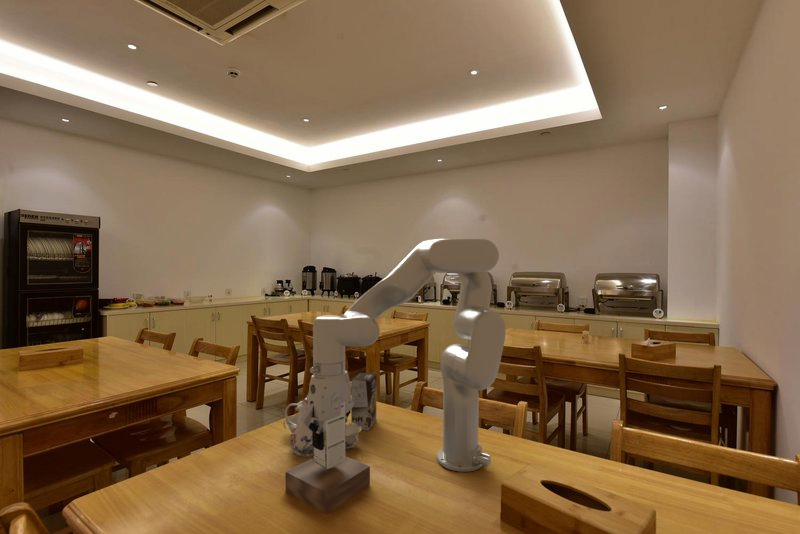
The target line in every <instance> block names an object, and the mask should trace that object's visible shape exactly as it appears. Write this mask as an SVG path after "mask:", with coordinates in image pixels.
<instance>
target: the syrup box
mask: <svg viewBox="0 0 800 534" xmlns="http://www.w3.org/2000/svg"><path fill="white" fill-rule="evenodd" d="M341 404H342V405H341V413H340V416H337V417H335V418H332V419H330V420H327V421H325V422H323V427H322V431H321V432H323V441H324V448H323V450H319V449H316V448H314V447H313V456H312V458H313V461H314V462H316V463H317V464H319V465H321V466H322V467H324V468H326V469H329V468H332V467H334V466H336V465H338V464H340V463H342V462H344V461H345V456H346V448H345V424H346V423H345V402H344V403H343V402H342V403H341ZM337 406H338V405H337ZM337 406H336V407H337ZM334 408H335V407H334ZM338 408H339V407H338ZM338 408H335V409H338ZM318 422H319V421H317V425H318ZM317 425H316V426H317Z"/></svg>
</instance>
